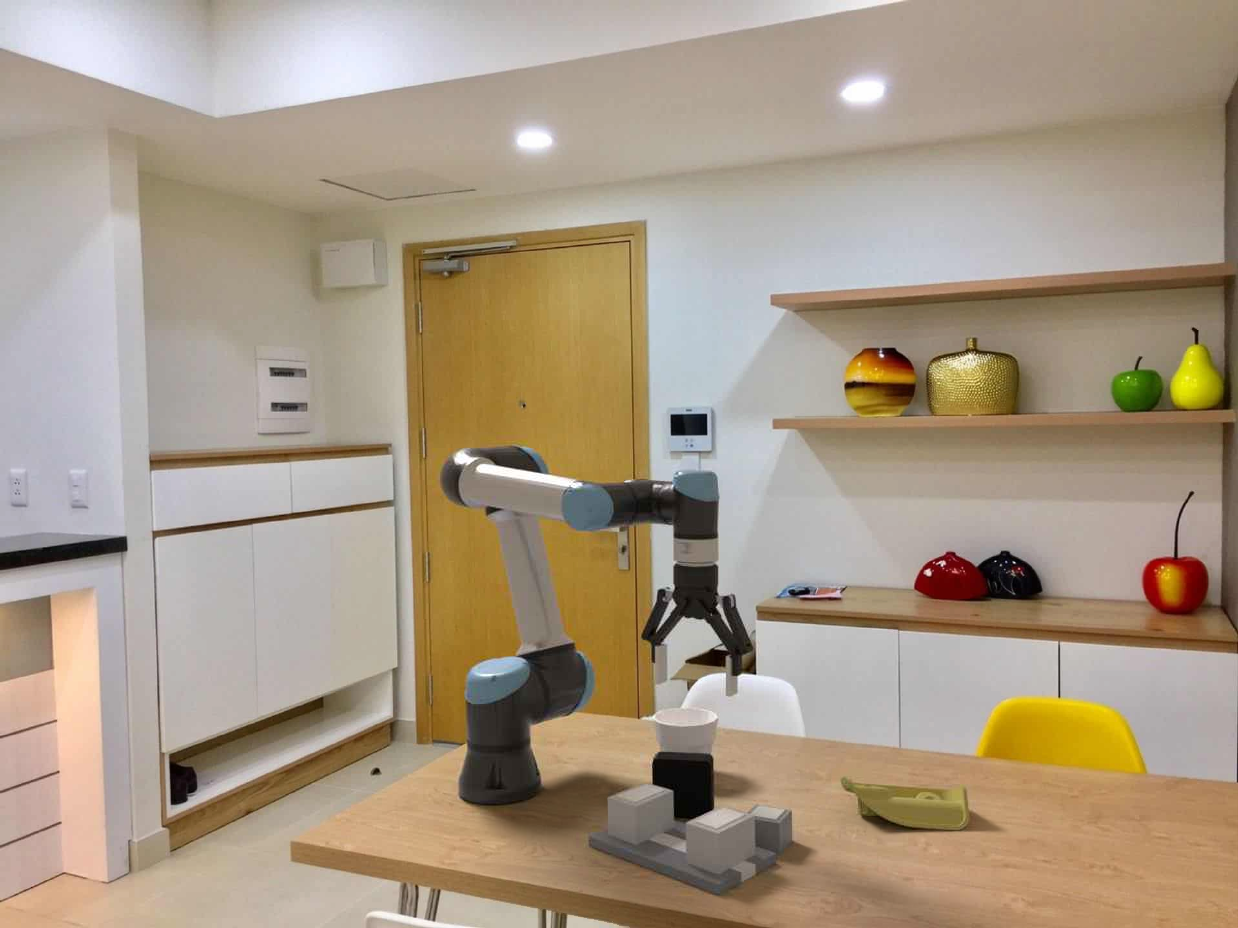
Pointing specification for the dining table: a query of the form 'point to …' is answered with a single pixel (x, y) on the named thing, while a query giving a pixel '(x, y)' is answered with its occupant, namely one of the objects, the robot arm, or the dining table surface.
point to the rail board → (682, 840)
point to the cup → (686, 730)
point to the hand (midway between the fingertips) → (695, 688)
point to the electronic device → (686, 781)
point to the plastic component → (912, 804)
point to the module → (772, 827)
